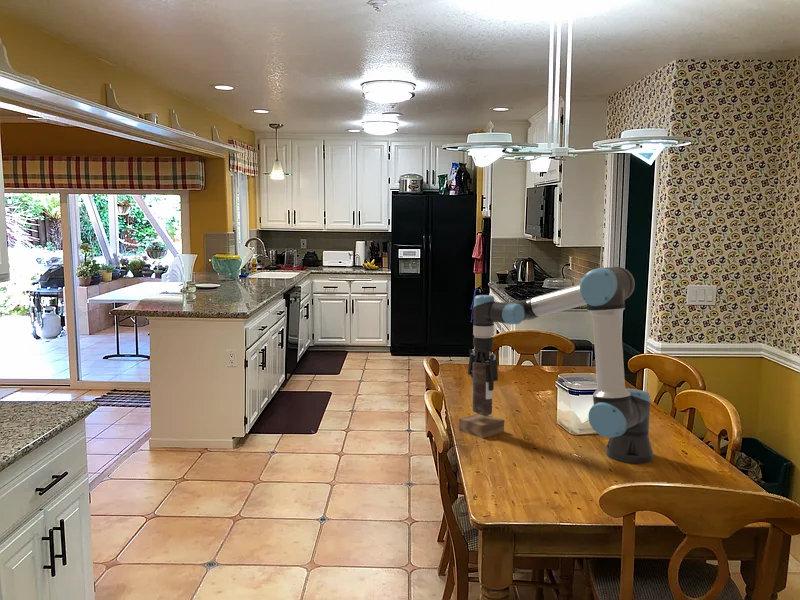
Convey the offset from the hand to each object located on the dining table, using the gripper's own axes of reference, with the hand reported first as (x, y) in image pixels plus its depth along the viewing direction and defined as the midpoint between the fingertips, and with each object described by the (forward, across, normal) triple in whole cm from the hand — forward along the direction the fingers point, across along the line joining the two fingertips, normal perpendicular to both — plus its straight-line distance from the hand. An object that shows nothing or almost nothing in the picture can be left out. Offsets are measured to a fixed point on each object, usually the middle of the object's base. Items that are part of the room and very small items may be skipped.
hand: (482, 396), depth 246 cm
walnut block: (+14, 0, 0) cm, 14 cm away
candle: (+7, 0, 0) cm, 7 cm away
